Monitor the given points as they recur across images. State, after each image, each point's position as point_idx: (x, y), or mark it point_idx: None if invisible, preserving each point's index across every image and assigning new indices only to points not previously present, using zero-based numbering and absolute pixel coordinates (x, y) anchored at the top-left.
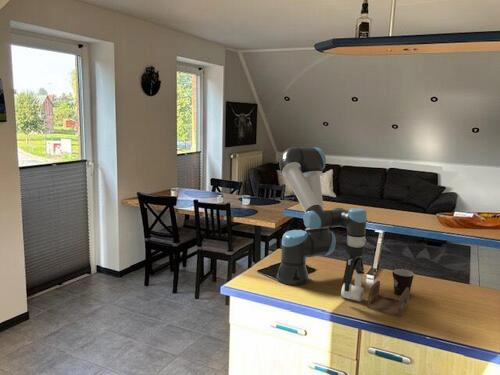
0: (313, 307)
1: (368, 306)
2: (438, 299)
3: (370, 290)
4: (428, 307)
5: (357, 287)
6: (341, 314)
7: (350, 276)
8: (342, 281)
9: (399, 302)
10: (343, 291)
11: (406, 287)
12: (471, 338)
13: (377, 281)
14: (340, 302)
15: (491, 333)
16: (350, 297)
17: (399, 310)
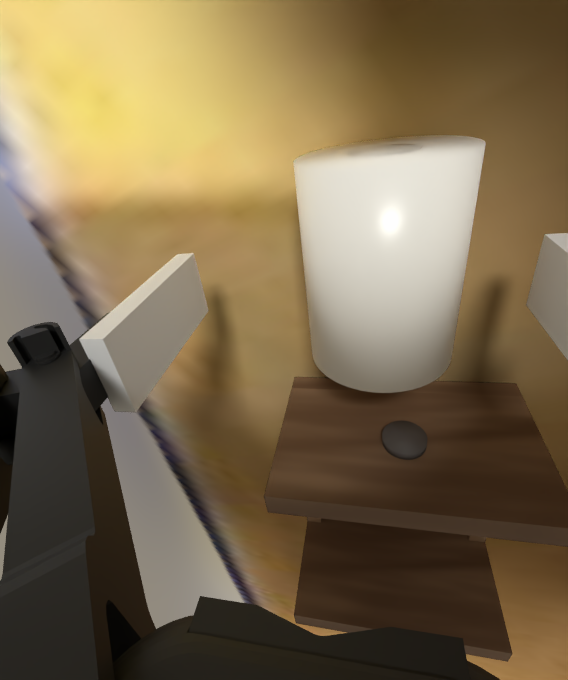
0: None
1: (293, 389)
2: None
3: (266, 499)
4: (512, 579)
5: (367, 353)
6: (76, 280)
7: (8, 507)
8: (15, 336)
9: (300, 576)
10: (297, 192)
11: (508, 653)
12: (311, 626)
13: (551, 531)
14: (230, 186)
15: None
16: (199, 316)
17: (307, 530)
